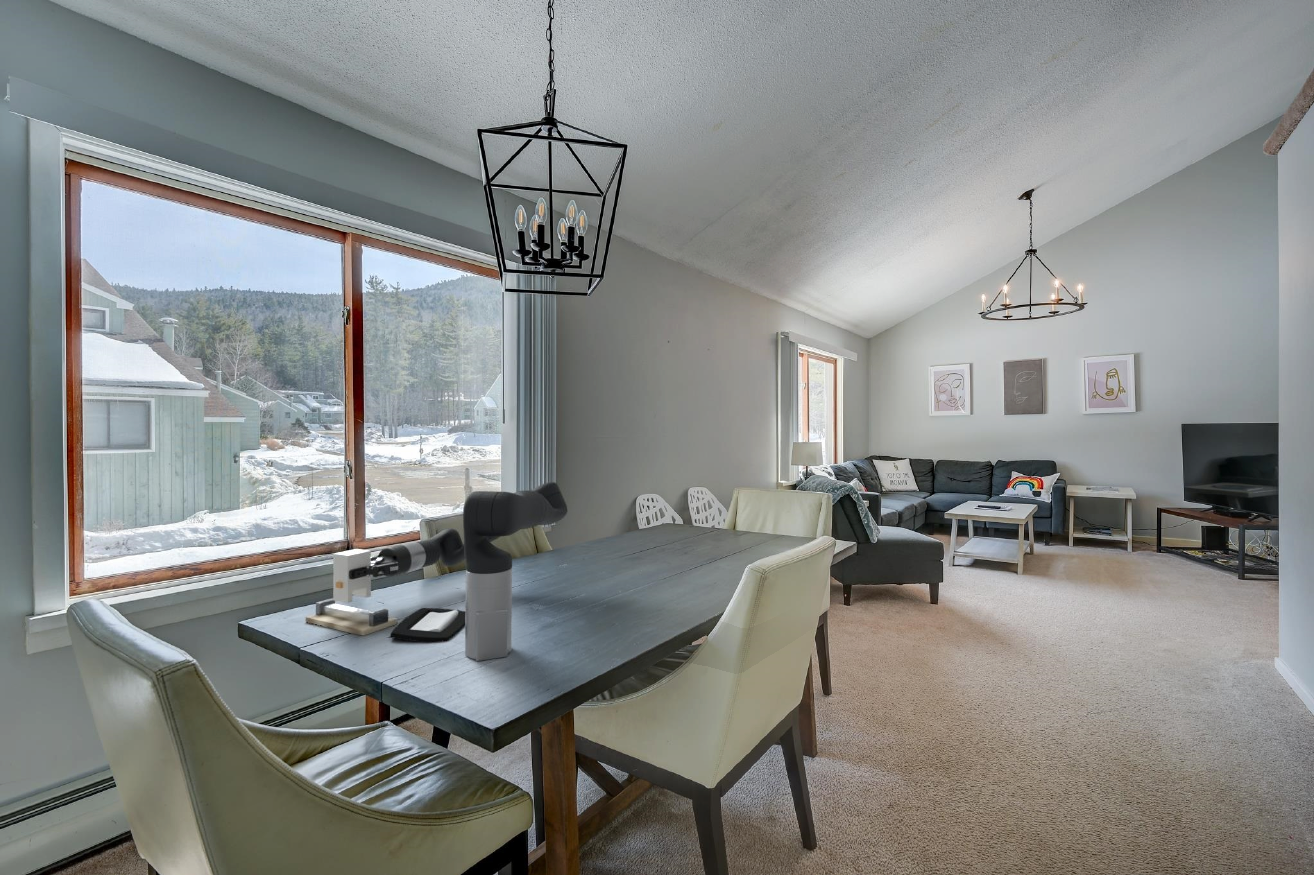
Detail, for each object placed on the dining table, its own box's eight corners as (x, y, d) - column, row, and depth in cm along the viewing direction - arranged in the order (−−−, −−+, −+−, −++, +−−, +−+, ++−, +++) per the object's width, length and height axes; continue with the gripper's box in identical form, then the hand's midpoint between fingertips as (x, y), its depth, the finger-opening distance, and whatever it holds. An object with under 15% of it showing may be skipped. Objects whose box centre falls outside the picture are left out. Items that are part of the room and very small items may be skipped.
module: (370, 596, 138) (370, 550, 138) (345, 604, 132) (345, 556, 132) (356, 593, 140) (356, 548, 140) (330, 601, 134) (330, 554, 134)
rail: (388, 621, 134) (388, 609, 134) (373, 627, 130) (373, 614, 130) (331, 609, 142) (331, 598, 142) (315, 614, 138) (315, 602, 138)
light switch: (450, 635, 124) (385, 629, 124) (448, 648, 124) (383, 642, 124) (476, 607, 144) (420, 602, 143) (475, 619, 144) (418, 613, 143)
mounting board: (397, 623, 136) (397, 618, 136) (363, 635, 128) (363, 630, 128) (340, 611, 144) (340, 607, 144) (305, 622, 136) (305, 617, 136)
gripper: (422, 576, 146) (362, 593, 131) (383, 570, 152) (321, 585, 137) (422, 547, 146) (362, 560, 131) (383, 541, 152) (321, 554, 137)
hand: (342, 573), depth 134 cm, fingers closed on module, 5 cm apart
